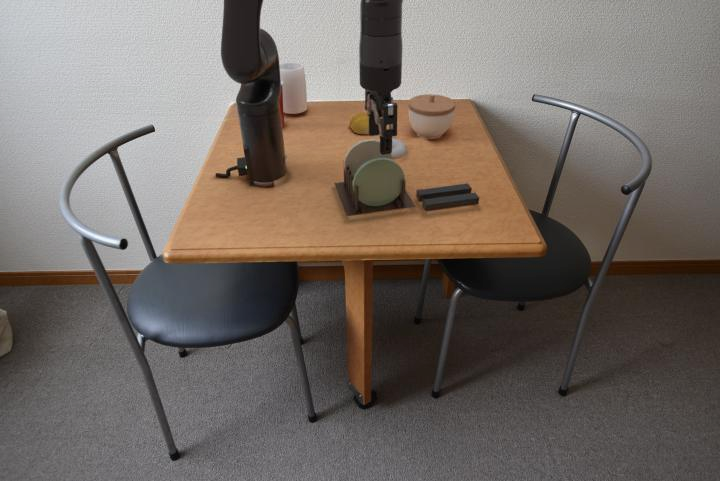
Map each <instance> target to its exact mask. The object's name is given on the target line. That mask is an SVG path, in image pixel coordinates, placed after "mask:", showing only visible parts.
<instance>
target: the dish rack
mask: <svg viewBox="0 0 720 481" xmlns="http://www.w3.org/2000/svg"><path fill="white" fill-rule="evenodd" d="M342 162H343V164H342V165H343V166H342V167H344V160H343V161H342ZM353 178H354V176H353V175H351V170H349V165H346V172H345V170H344V169H343V181H341V182H340V181H339V182H334V186H335V189H336V192H337V194H338V197H339V200H340V202H341V205H342V208H343V211H344V213H345V216H346V217H351V216H352V217H353V216H359V215H365V214H366V215H367V214H372V213H373V214H374V213H380V212H388V211H394V210H403V209H409V208H415V207H416V205H415V203H414V202H413V200H412V199H411V197H410V195H409V193H408V192H407V190H406V182H407V181H406V179H405V180H402V187H401V193H400V194H399V195H398V196H397V198H395V199H394V200H393V201H391V202H390V203H388V204H385V205H382V206H369V205H366V204H364V203H362V202H361V201H359V187H358V186H355V193H354V191H353V185H352V184H353Z"/></svg>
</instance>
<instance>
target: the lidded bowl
mask: <svg viewBox="0 0 720 481" xmlns="http://www.w3.org/2000/svg"><path fill="white" fill-rule="evenodd" d="M407 105H408V120H409V125H410V127H411V129H412V130H413V131H414V132H415V133H416V135H417V137H418V138H424V139H426V140H436V139H439V138H441V137H442V135H443V134H446V132H447V131H448V130H449V129H450V127H451V125H452V123H453V120H454V116H455V108H456V101H454V99H453V98H450V97H449V96H445V95H440V94H431V93H430V94H419V95H416V96H413V97H411V98H409V100H408V104H407Z"/></svg>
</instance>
